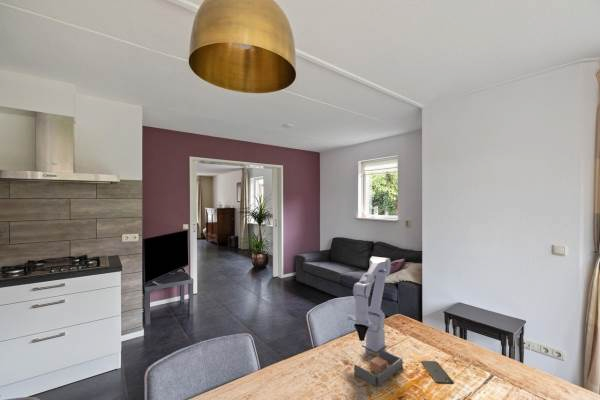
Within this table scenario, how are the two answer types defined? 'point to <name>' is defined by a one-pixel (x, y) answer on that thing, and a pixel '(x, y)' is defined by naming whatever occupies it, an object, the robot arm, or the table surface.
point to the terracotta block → (378, 365)
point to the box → (384, 374)
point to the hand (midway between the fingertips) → (361, 340)
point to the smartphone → (437, 372)
